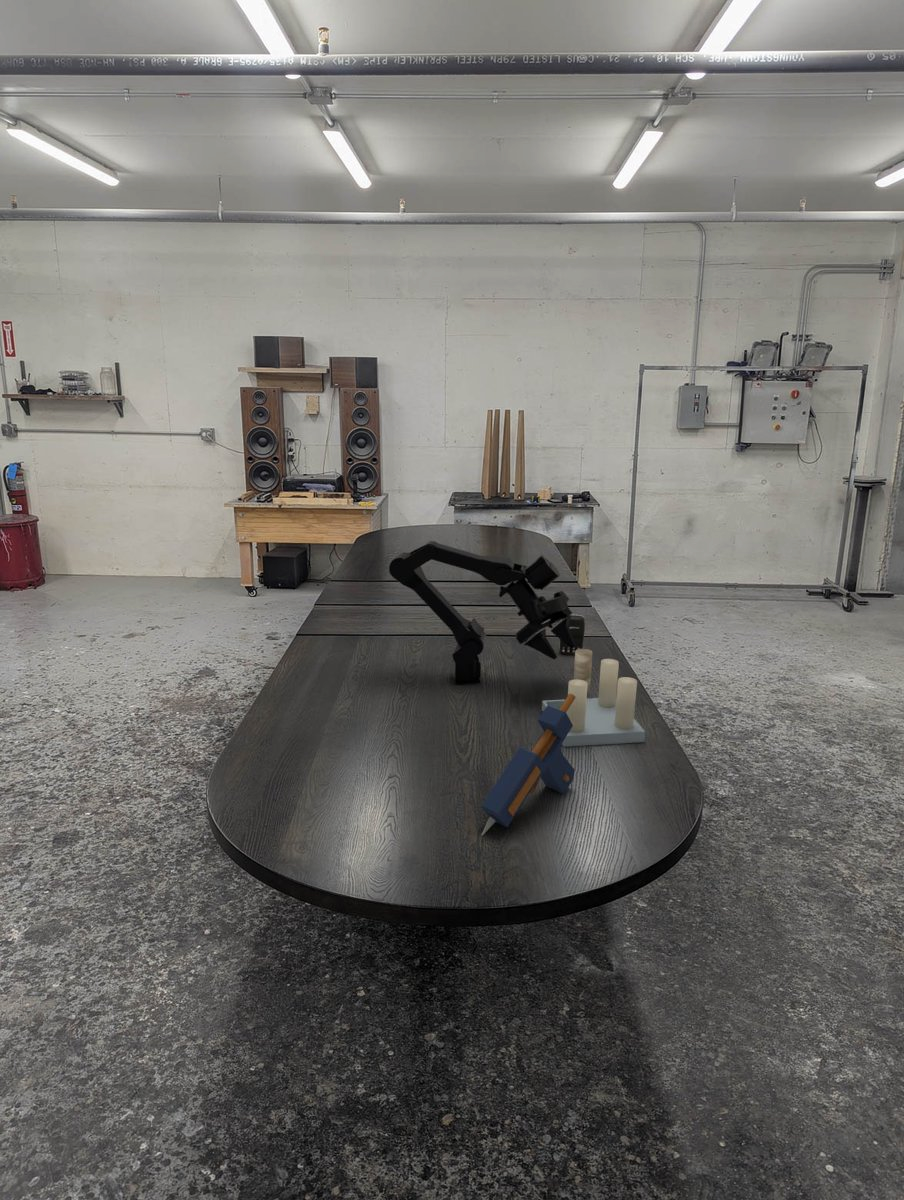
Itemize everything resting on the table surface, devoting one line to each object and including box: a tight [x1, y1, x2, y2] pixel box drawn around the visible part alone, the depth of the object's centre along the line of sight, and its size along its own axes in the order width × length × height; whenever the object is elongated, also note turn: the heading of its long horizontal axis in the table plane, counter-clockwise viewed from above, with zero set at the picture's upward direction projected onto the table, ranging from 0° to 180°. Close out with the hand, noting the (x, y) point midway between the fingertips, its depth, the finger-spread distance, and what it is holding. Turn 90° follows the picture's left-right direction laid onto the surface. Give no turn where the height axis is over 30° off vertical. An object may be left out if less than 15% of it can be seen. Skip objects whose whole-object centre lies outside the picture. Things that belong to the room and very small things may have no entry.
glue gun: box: [480, 694, 576, 837], centre depth 135 cm, size 6×31×15 cm
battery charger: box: [558, 613, 586, 656], centre depth 208 cm, size 7×4×11 cm, turn 83°
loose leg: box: [573, 648, 593, 698], centre depth 177 cm, size 4×4×13 cm
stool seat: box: [541, 658, 646, 748], centre depth 165 cm, size 18×18×13 cm
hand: (564, 652), depth 178 cm, fingers open, 9 cm apart
